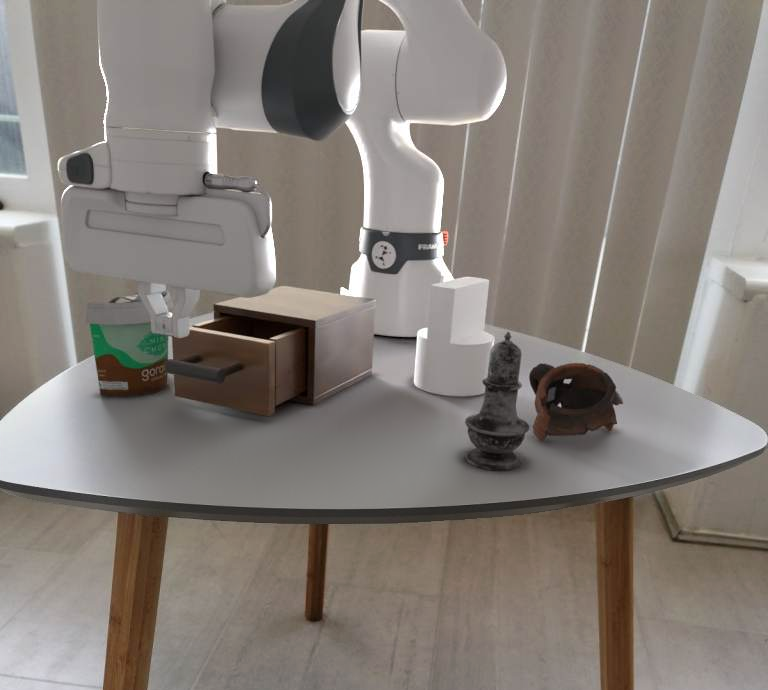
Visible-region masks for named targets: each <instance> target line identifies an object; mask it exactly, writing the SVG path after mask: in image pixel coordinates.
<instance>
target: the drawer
mask: <svg viewBox="0 0 768 690" xmlns="http://www.w3.org/2000/svg"><path fill="white" fill-rule="evenodd" d="M189 327H190V332H189V335H188V336H186V337H183V338H176V337H171V344H172V347H171V348H172V358H168V360H167V361H166V364H165V370H166V372H167V373H168V374H169V375H173V384H174V385H173V387H174V396H175V397H177V398H181V399H186V400H191V401H194V402H195V401H196V402H200V403H204V404H210V405H214V406H218V407H222V408H228V409H232V410H236V411H243V412H246V413H251V414H255V415H261V416H265V417H270V416H272V415H274V414H275V413H276V406H279V405H281V404H282V403H284V402H286V401H290V400H289V399H291V398H293V397H295V396H297V395H299V394H301V393H303V392H305V391H307V390H308V339H309V327H305V326H299V325H293V324H287V323H281V322H275V321H269V320H263V319H257V318H251V317H244V316H238V315H232V314H229V315H226V316H222V317H219V318H215V319H214V318H212V319H208V320H206V321H202V322H198V323H195V324H193V325H191V326H190V325H189Z"/></svg>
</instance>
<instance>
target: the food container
mask: <svg viewBox="0 0 768 690" xmlns="http://www.w3.org/2000/svg"><path fill="white" fill-rule="evenodd" d="M161 294H162V297H163V299H164V302H165V304H166V306H167V309H168V311H169V312H170V313H173V311H174V308H175V304H174V301H173V298H172V296H171V295H170V293H169V291H168V289H166V291H165V292H161ZM85 323H86V324H89V327H90V334H91V341H92V347H93V355H94V361H95V368H96V374H97V381H98V388H99V394H100V396H103V397H123V398H124V397H138V396H145V395H150V394H155V393H156V392H157V393H158V392H160V391H162V390H164V389H165V388H166V387H167V386H168V376H169V375H168V374H169V373H167V372H166V370H165V364H166V361H167V360H169V336H166V335H160V334H155V333H152V331H151V318H150V314H149V313H148V311H147V309H146V307H145V305H144V303H143V302H142V300H141V298H140V296H139V294H138V291H137V292H136V293H133V294H131V295H121V296H116V297H113V298H112V299H111V300H109V301H108V302H95V301H86V311H85Z"/></svg>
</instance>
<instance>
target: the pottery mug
mask: <svg viewBox="0 0 768 690" xmlns="http://www.w3.org/2000/svg"><path fill="white" fill-rule="evenodd" d="M565 380H570V382H569V383H566V382H565ZM529 384H530V387H531V389H532V391H533V393H534V395H535V397H534V408H535V412H536V414H537V415H536V417H535V419H534V422H533V425H532V433H533V434H534V436H535V437H537V439H538V440H539V441H540V442H543V441H544V440H545V439H546V438H547V436H550V437H551V436H552V437H560V436H561V437H562V436H584V435H586V434H588V431H591V432H595V431H598V430H599V429H600V428H603V427H604V428H605V429H606V430H607V431H608V432H612V431H613V428H614V426H615V425H618V420H617V414H616V411H615V408H614V406H619V405H623V404H624V401H623V398H622V396H621V395H620V394H619V392H618V390H617V386H616V383H615V382H614V381H613V378H612V377H611V376H610V375H609V374H608V373H607V372H605V371H604V370H603V369H601V368H599V367H597V366H595V365H592V364H587V363H584V362H569V363H565V364H562V365H558V366H556V367H555V366H554V365H551V364H548V363H539V364H537V365H536V366H533V367H532V369H531V371H530V372H529ZM559 405H560V406H559Z"/></svg>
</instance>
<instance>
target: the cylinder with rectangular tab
mask: <svg viewBox="0 0 768 690" xmlns="http://www.w3.org/2000/svg"><path fill="white" fill-rule="evenodd" d="M453 279H454V280H450V281H445V282H441V283H437V284H433V285H431V293H430V306H429V318H428V327H427V328H423V329H421V330H419V331H418V333H417V337H416V346H415V347H416V349H415V360H414V375H413V384H414V386H415V387H416V388H417V389H420V390H422V391H424V392H427V393H430V394H435V395H440V396H448V397H473V396H479V395H483V394H485V385H484V384H483V383H482V381H483V380H484V379H486V378H487V375H488V366H489V357H490V350H491V348H492V347H493V345H495V339H496V338H495V336H494V335H493V334H491V333H489V332H487V331H485V326H486V325H485V324H486V317H487V305H488V297H489V288H490V279H487V278H482V277H474V276H462V277H458V278H453Z"/></svg>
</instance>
